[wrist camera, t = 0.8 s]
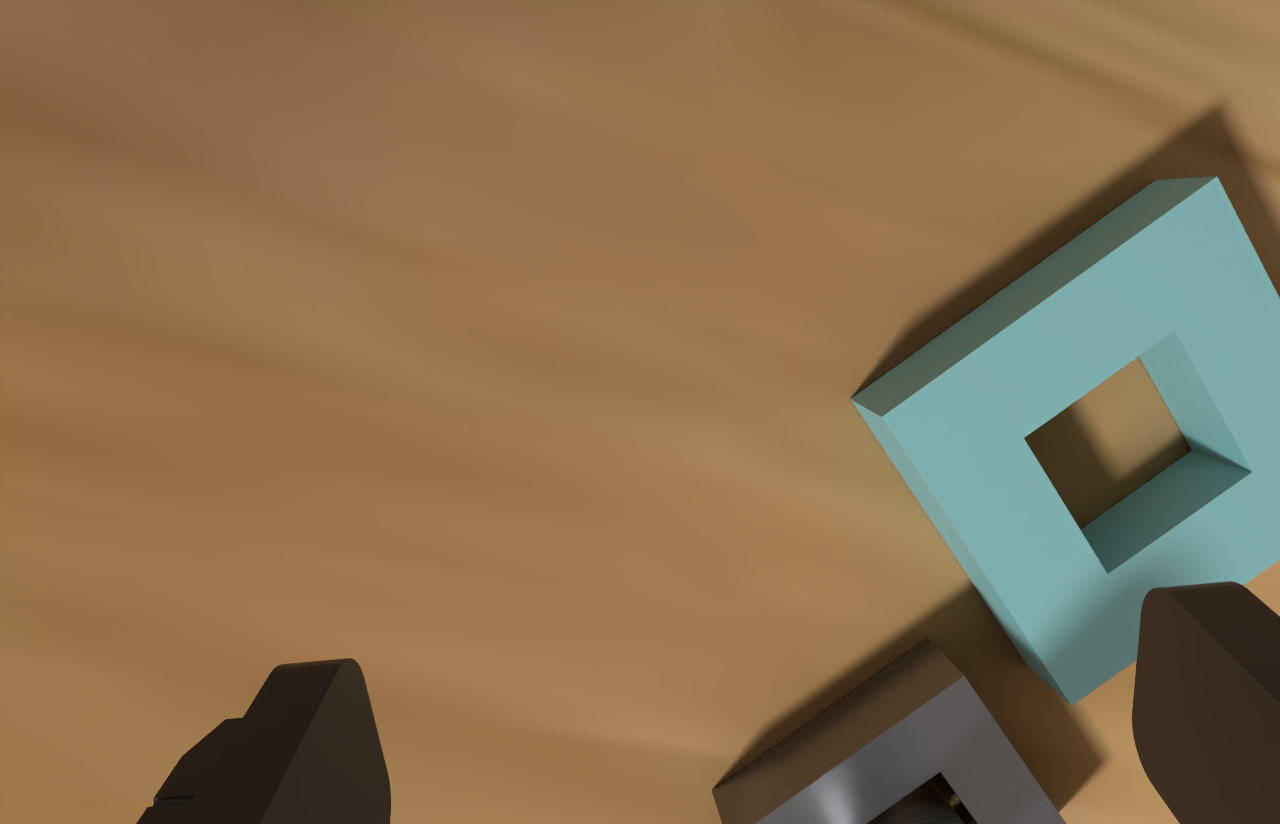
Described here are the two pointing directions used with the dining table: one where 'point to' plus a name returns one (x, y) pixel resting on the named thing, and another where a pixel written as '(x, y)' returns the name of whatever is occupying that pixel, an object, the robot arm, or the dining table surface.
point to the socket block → (890, 755)
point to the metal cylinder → (920, 808)
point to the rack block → (1064, 372)
